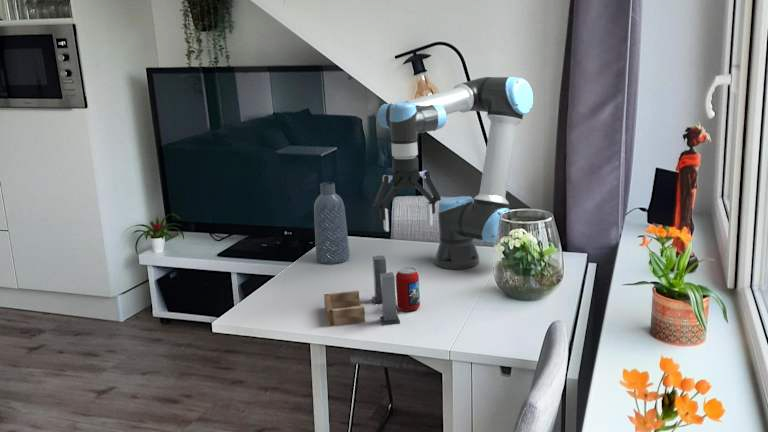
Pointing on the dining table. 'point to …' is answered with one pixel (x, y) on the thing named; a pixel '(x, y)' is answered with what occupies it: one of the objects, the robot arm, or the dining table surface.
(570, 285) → the dining table surface
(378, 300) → the post far
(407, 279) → the beverage can
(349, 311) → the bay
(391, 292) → the post near
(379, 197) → the robot arm
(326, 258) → the vase
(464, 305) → the dining table surface
